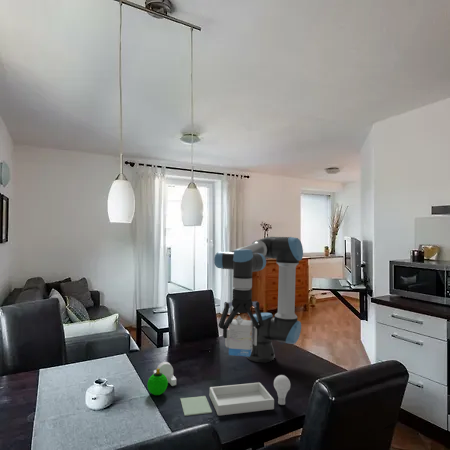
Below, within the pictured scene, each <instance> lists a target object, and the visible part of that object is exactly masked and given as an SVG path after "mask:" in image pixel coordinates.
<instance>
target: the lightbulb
mask: <svg viewBox="0 0 450 450" xmlns="http://www.w3.org/2000/svg"><path fill="white" fill-rule="evenodd" d="M273 387H274V389H275V391H276V393H277V397H278V399H277V400H278V401H277V403H278V405H280V406H284V405H286V397H287V394H288V392H289V391H290V389H291V381H290V379H289V378H288V377H287V376H286V375H285V374H279V375H277V376H276V377H274V380H273Z"/></svg>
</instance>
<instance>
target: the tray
mask: <svg viewBox="0 0 450 450" xmlns="http://www.w3.org/2000/svg"><path fill="white" fill-rule="evenodd" d="M208 395H209V398H210V401H211V403H212V406H213V407H214V410H215V411H216V412H215V413H216V414H217V416H225V415H226V416H227V415H228V416H229V415H233V414H243V413H244V414H245V413H252V412H253V413H254V412H260V411H267V410H268V411H269V410H274V409H275V399H274V397H273V396H272V395H271V394H270V392H269V391H268V390H267V389H266V388H265V386H264V385H263V384H262V383H261V382H259V381H258V382H249V383H241V384H228V385H220V386H219V385H218V386H210V387H209V394H208Z"/></svg>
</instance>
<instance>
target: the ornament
mask: <svg viewBox="0 0 450 450" xmlns="http://www.w3.org/2000/svg"><path fill="white" fill-rule="evenodd" d="M155 370H157V372H156V373H155V374H154V373H153V374H151V376H150V377H149V378H148V380H147V387H146V388H147V389H148V392H149V393H151V394H152V395H154V396H160V395H163V393H165V392H166V390H167V388H168V386H169V383H168V381H167V378H166V376H165V375H164V374H162V373H160V372H159V370H160V369H159V368H158V369H157V368H156V369H155Z"/></svg>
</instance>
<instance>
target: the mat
mask: <svg viewBox="0 0 450 450" xmlns="http://www.w3.org/2000/svg"><path fill="white" fill-rule="evenodd" d="M179 399H180V404H181V407H182V411H183V415H184V416H185V417H187V416H196V415H203V414H212V413H213V410H212V407H211V406H210V403H209V401H208V399H207V397H206V395H200V396H192V397H180V398H179Z"/></svg>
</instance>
